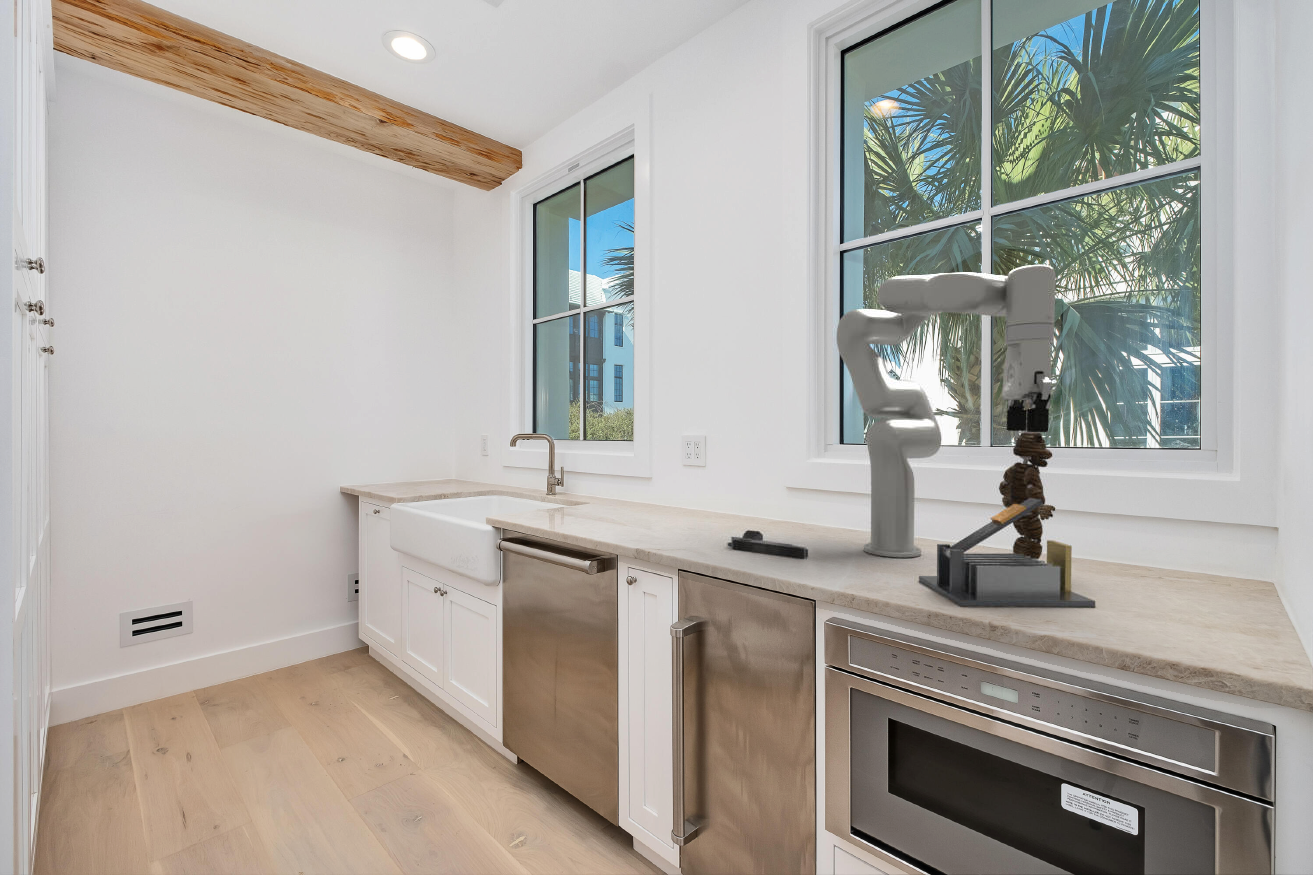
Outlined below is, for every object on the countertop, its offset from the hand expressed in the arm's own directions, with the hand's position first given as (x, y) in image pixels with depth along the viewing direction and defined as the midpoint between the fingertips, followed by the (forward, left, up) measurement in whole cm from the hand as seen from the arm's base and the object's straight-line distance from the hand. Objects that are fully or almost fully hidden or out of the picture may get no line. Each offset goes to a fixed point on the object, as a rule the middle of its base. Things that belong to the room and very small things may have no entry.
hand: (1026, 431), depth 107 cm
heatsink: (+2, -6, -29) cm, 30 cm away
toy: (-13, +9, -29) cm, 33 cm away
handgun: (-35, -39, -30) cm, 61 cm away
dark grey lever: (+3, -7, -18) cm, 19 cm away
